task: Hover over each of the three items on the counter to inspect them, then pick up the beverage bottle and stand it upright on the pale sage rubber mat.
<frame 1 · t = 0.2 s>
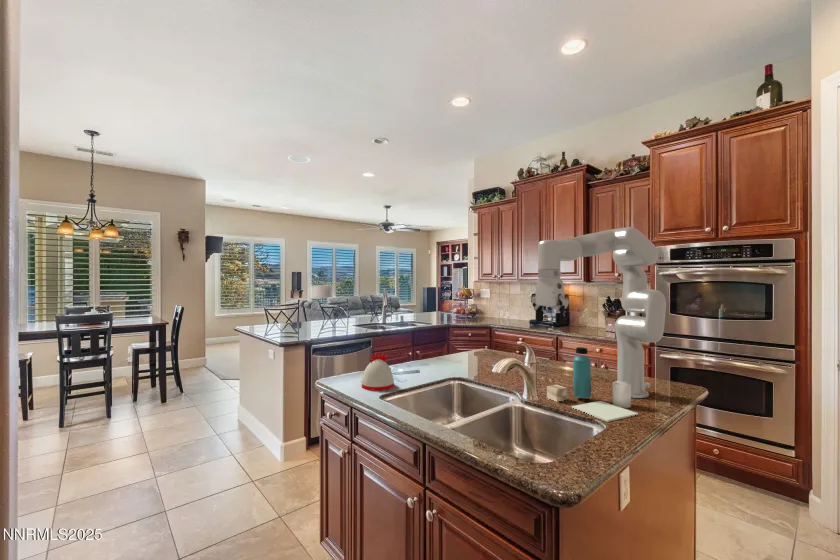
hand: (549, 322, 136), 31 cm above the worktop, tool pointing down, fingers open, 9 cm apart
birch block: (556, 400, 148), on the worktop
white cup: (621, 405, 141), on the worktop
sage mat: (603, 411, 134), on the worktop
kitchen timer: (377, 386, 166), on the worktop
beverage bottle: (581, 400, 148), on the worktop
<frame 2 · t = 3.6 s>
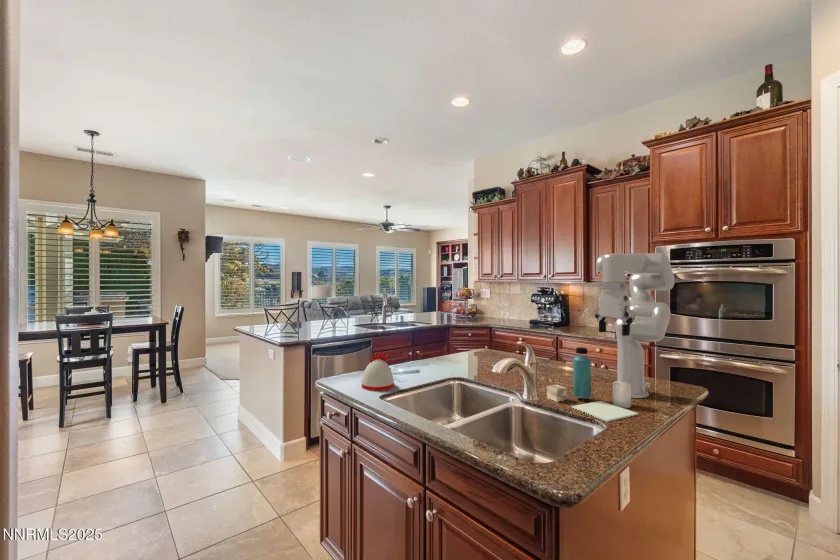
hand: (613, 333, 141), 26 cm above the worktop, tool pointing down, fingers open, 9 cm apart
nothing on the worktop moved.
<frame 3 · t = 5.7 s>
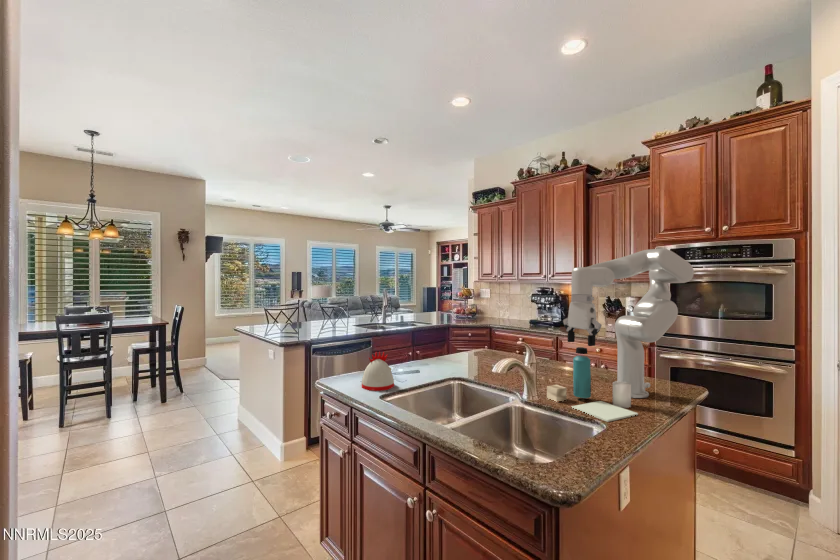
hand: (580, 343, 148), 21 cm above the worktop, tool pointing down, fingers open, 9 cm apart
nothing on the worktop moved.
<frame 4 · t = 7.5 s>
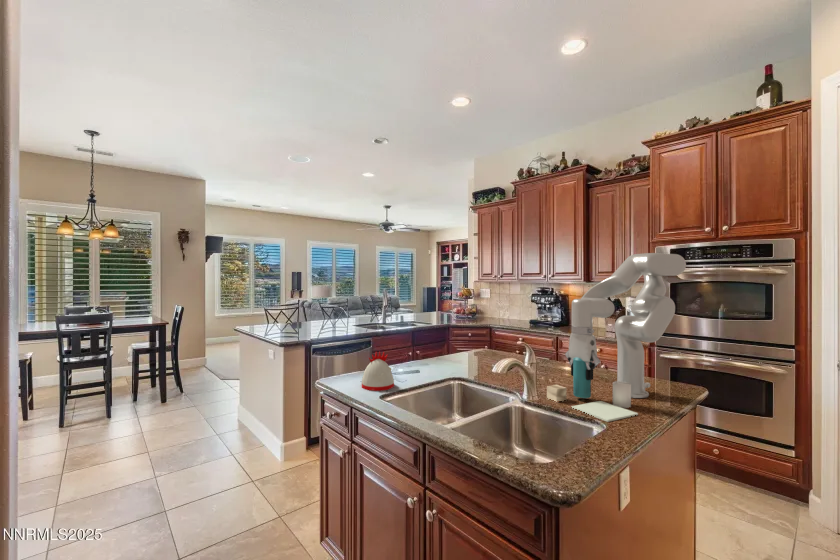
hand: (581, 377, 148), 9 cm above the worktop, tool pointing down, fingers closed on beverage bottle, 6 cm apart
beverage bottle: (581, 400, 148), on the worktop, touching gripper
everything else where it was.
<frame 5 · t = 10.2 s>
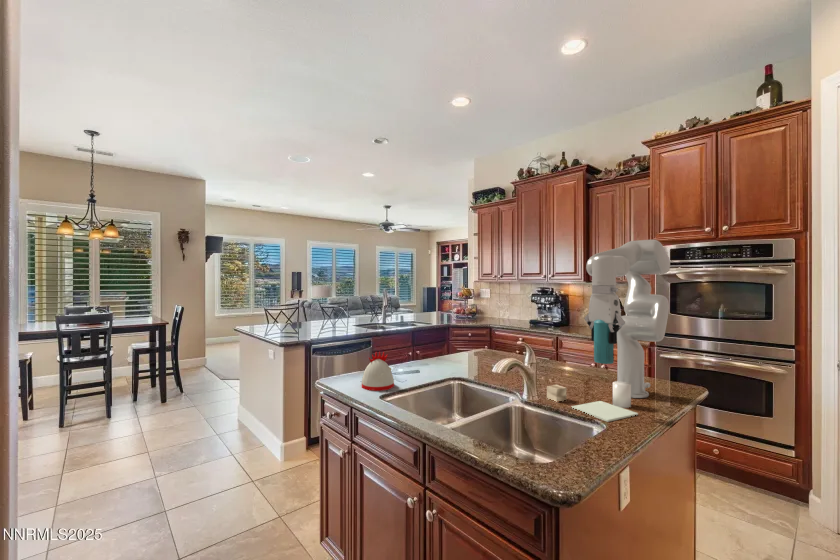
hand: (603, 341, 135), 24 cm above the worktop, tool pointing down, fingers closed on beverage bottle, 6 cm apart
beverage bottle: (603, 366, 134), point 16 cm above the worktop, touching gripper
everything else where it was.
when the fingers open (10 cm above the worktop, at t = 13.3 s): beverage bottle drops 1 cm, resting on sage mat.
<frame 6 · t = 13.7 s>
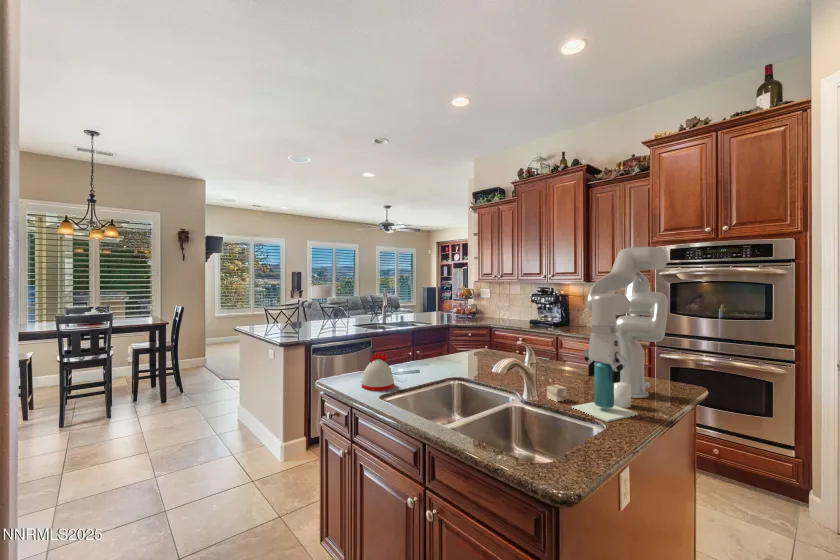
hand: (603, 379, 134), 11 cm above the worktop, tool pointing down, fingers open, 9 cm apart
beverage bottle: (603, 409, 135), resting on sage mat
everything else where it was.
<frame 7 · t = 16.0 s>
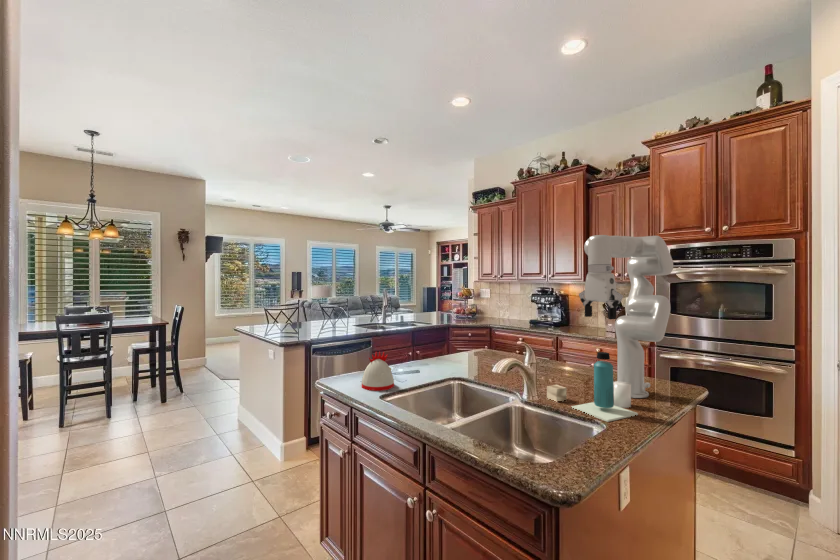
hand: (599, 317, 137), 33 cm above the worktop, tool pointing down, fingers open, 9 cm apart
nothing on the worktop moved.
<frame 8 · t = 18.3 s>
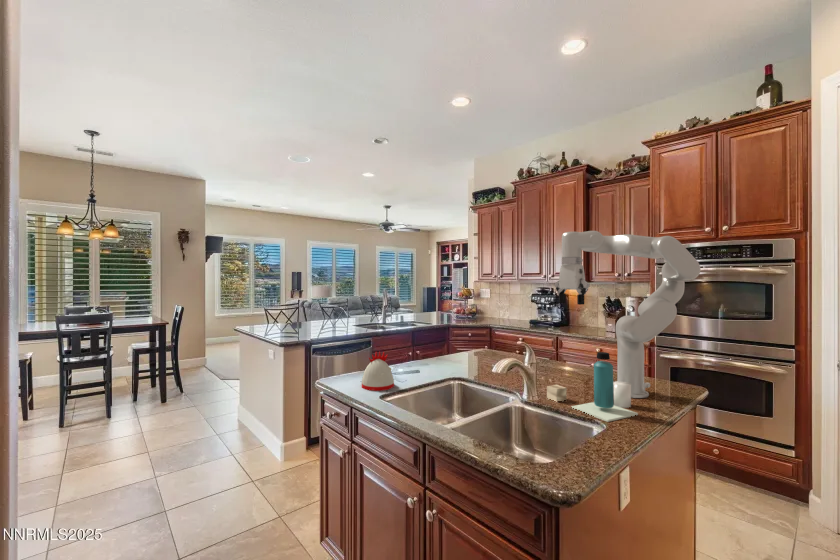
hand: (571, 303, 158), 36 cm above the worktop, tool pointing down, fingers open, 9 cm apart
nothing on the worktop moved.
at the end: beverage bottle inside the target area on the sage mat (0.3 cm from its centre), point 0.4 cm above the sage mat's base; beverage bottle tilted 0°; the gripper is holding nothing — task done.
